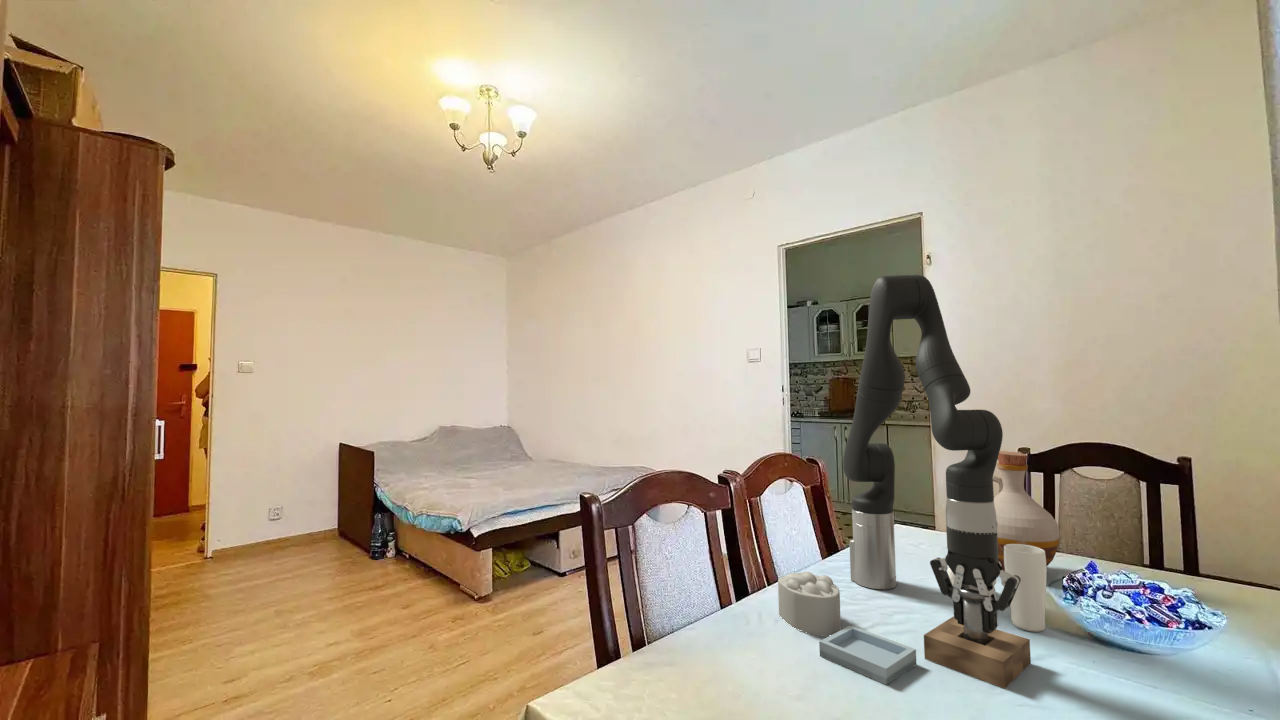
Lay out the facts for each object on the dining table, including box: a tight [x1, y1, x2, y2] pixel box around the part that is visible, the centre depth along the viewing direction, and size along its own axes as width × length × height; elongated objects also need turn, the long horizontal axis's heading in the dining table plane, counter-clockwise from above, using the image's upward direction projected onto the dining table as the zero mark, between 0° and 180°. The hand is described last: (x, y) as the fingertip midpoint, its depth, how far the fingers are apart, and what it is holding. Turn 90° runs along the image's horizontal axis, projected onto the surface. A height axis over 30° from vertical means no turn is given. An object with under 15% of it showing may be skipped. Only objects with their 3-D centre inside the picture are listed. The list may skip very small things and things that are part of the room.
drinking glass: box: [1004, 544, 1048, 633], centre depth 105 cm, size 7×7×15 cm
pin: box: [958, 585, 989, 646], centre depth 92 cm, size 5×5×12 cm
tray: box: [818, 625, 917, 686], centre depth 92 cm, size 12×10×2 cm
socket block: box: [923, 615, 1032, 689], centre depth 92 cm, size 12×12×4 cm
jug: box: [993, 450, 1061, 571], centre depth 136 cm, size 20×18×30 cm
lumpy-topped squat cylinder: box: [777, 571, 842, 637], centre depth 108 cm, size 10×13×9 cm
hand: (975, 626), depth 92 cm, fingers closed on pin, 3 cm apart
